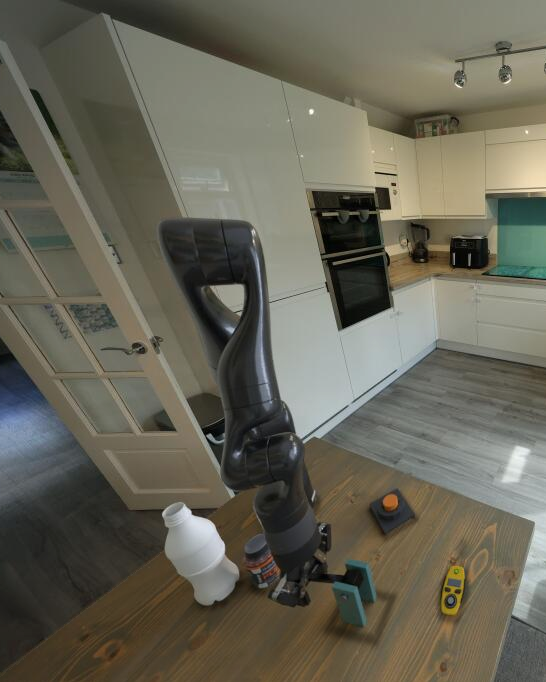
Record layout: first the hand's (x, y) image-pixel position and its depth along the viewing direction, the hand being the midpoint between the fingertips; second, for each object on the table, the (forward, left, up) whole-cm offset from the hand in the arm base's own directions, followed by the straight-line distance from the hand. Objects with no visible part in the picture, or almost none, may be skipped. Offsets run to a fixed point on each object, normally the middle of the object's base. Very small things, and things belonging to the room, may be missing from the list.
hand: (313, 587), depth 61 cm
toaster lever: (+4, +3, +3) cm, 6 cm away
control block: (-9, +20, -5) cm, 23 cm away
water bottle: (-15, -15, -6) cm, 22 cm away
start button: (-9, +20, -2) cm, 22 cm away
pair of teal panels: (+7, +6, -5) cm, 11 cm away
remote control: (+14, +24, -6) cm, 29 cm away
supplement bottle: (-12, -7, -6) cm, 15 cm away
